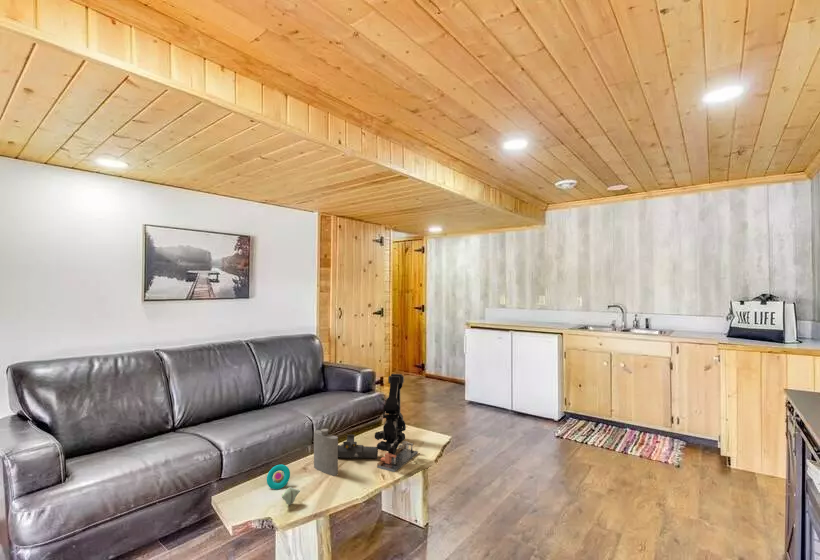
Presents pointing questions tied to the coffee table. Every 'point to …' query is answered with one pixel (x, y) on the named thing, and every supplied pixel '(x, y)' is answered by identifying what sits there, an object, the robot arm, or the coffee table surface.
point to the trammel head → (388, 458)
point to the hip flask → (326, 452)
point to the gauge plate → (399, 457)
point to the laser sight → (356, 450)
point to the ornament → (278, 477)
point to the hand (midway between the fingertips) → (391, 457)
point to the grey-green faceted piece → (290, 495)
